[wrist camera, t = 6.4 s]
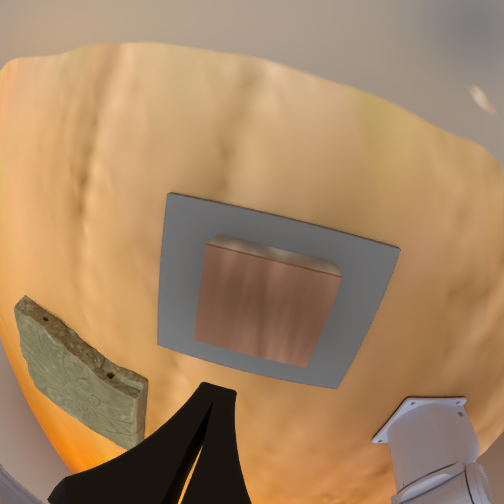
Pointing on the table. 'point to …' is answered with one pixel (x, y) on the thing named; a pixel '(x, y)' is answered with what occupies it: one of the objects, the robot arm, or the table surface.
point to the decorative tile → (81, 377)
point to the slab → (264, 300)
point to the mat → (281, 237)
